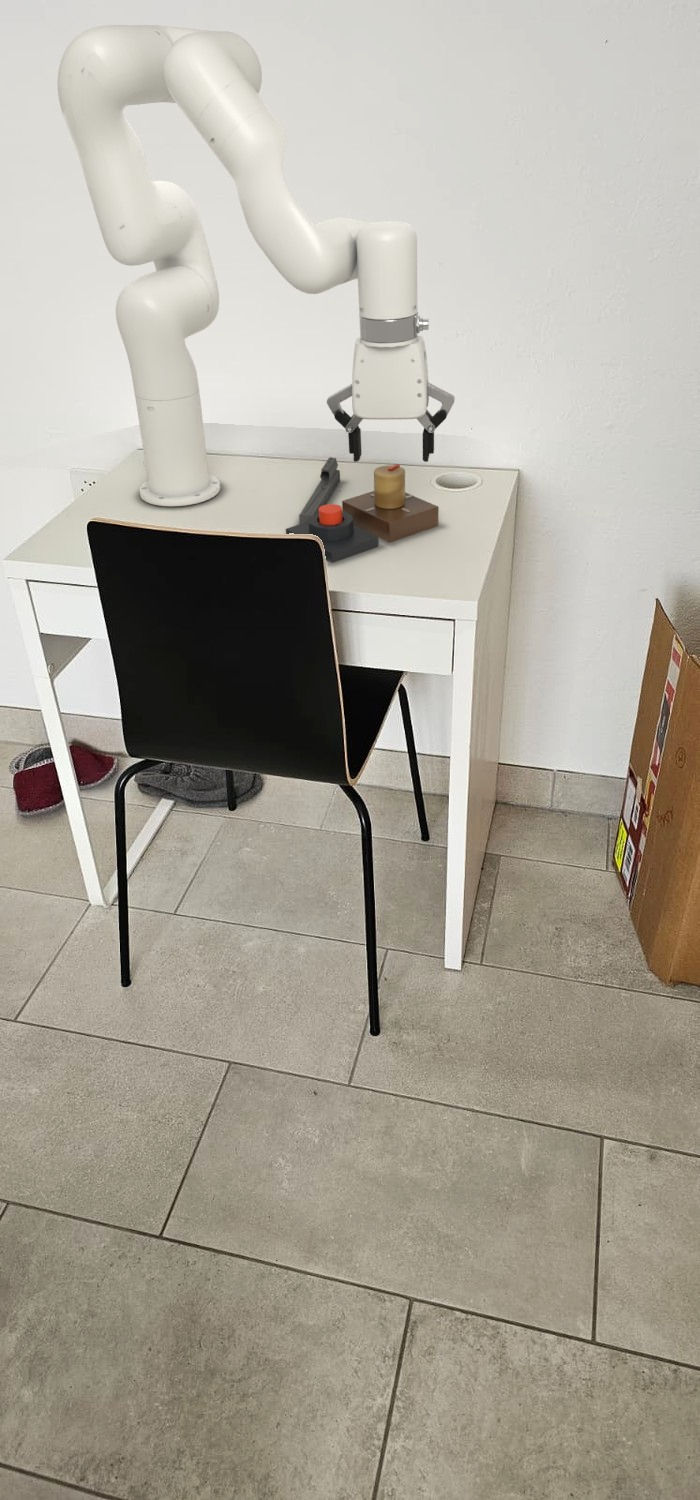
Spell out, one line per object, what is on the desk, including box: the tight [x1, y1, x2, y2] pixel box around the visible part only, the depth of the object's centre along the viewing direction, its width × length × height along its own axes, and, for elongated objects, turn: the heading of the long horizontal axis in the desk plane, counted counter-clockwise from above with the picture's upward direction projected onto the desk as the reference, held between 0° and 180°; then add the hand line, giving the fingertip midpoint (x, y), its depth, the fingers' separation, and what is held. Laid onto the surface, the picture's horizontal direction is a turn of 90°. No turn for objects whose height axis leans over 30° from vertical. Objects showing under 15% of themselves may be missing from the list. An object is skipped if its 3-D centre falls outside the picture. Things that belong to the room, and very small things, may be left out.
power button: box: [319, 503, 342, 525], centre depth 140 cm, size 3×3×2 cm
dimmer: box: [341, 490, 439, 544], centre depth 146 cm, size 11×9×3 cm
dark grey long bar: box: [298, 456, 341, 524], centre depth 153 cm, size 19×3×4 cm, turn 168°
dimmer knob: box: [373, 463, 406, 509], centre depth 144 cm, size 4×4×5 cm
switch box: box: [285, 512, 379, 564], centre depth 141 cm, size 11×8×4 cm
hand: (391, 458), depth 142 cm, fingers open, 9 cm apart
